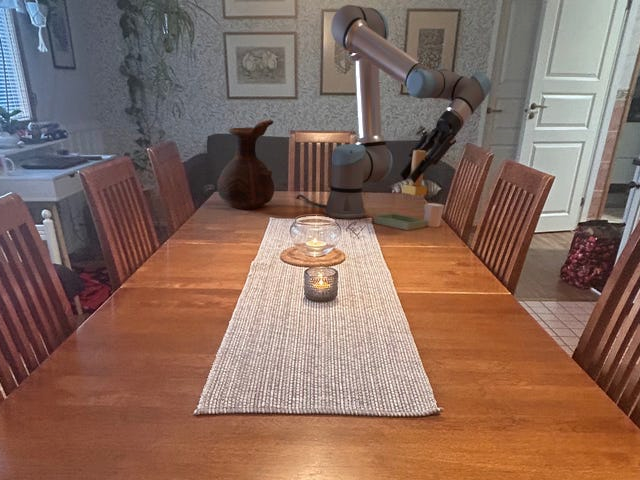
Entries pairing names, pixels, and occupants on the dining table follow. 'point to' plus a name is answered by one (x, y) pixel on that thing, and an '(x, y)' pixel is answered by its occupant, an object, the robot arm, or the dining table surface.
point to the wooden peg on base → (417, 186)
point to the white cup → (433, 214)
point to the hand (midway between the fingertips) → (407, 178)
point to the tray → (400, 221)
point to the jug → (246, 172)
